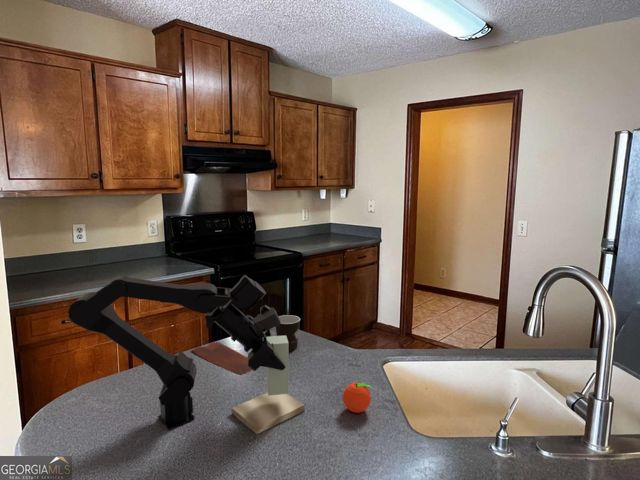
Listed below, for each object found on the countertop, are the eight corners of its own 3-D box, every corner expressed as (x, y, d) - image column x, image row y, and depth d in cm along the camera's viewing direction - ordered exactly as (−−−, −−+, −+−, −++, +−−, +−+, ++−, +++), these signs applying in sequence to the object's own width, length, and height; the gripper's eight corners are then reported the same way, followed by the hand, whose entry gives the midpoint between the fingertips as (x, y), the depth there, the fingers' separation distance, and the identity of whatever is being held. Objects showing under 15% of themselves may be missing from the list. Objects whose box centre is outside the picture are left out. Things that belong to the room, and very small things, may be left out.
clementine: (370, 401, 105) (370, 375, 104) (378, 416, 98) (378, 389, 97) (340, 404, 104) (340, 378, 103) (346, 419, 97) (346, 392, 96)
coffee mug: (285, 355, 132) (285, 325, 131) (270, 347, 139) (269, 319, 137) (312, 345, 140) (312, 317, 139) (296, 338, 147) (296, 311, 145)
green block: (268, 395, 98) (267, 344, 97) (266, 385, 103) (266, 336, 101) (288, 393, 99) (288, 342, 98) (286, 384, 104) (286, 335, 102)
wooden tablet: (189, 352, 136) (189, 348, 135) (215, 344, 143) (215, 339, 143) (237, 379, 118) (237, 373, 118) (264, 367, 125) (264, 362, 125)
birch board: (257, 434, 91) (257, 428, 91) (232, 413, 99) (231, 407, 99) (304, 410, 101) (304, 404, 100) (278, 393, 109) (277, 388, 109)
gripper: (262, 312, 88) (312, 356, 92) (258, 289, 106) (299, 327, 110) (226, 349, 88) (278, 391, 91) (228, 320, 106) (270, 356, 110)
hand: (282, 363), depth 101 cm, fingers closed on green block, 5 cm apart
